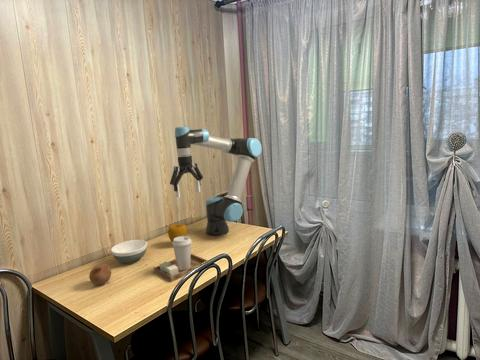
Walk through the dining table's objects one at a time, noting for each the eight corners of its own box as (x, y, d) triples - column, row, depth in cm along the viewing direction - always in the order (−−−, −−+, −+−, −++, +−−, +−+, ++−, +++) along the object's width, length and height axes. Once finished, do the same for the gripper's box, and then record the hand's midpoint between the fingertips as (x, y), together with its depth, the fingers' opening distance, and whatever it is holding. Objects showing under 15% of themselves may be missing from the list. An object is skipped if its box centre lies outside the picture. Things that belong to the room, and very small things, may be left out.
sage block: (166, 269, 155) (165, 261, 154) (172, 270, 153) (171, 263, 152) (160, 272, 152) (159, 264, 151) (166, 274, 149) (165, 266, 149)
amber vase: (166, 248, 183) (164, 227, 181) (173, 241, 194) (171, 221, 192) (184, 248, 181) (182, 227, 179) (190, 241, 192) (188, 221, 190)
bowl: (107, 261, 170) (104, 247, 168) (138, 250, 183) (137, 237, 181) (122, 271, 157) (120, 256, 155) (155, 258, 170) (153, 244, 168)
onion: (101, 293, 143) (95, 279, 137) (88, 284, 147) (81, 271, 141) (118, 277, 150) (112, 264, 144) (104, 269, 154) (98, 256, 148)
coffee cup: (190, 272, 149) (188, 242, 147) (171, 271, 151) (168, 241, 149) (195, 264, 158) (194, 235, 156) (177, 263, 160) (175, 235, 158)
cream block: (175, 272, 151) (174, 264, 150) (178, 275, 147) (178, 267, 147) (167, 275, 148) (166, 267, 148) (171, 278, 145) (170, 270, 144)
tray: (190, 257, 168) (189, 253, 168) (209, 265, 157) (208, 260, 156) (153, 272, 153) (153, 268, 153) (171, 283, 142) (171, 278, 141)
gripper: (198, 153, 179) (202, 189, 182) (160, 158, 161) (165, 198, 165) (207, 153, 173) (210, 190, 177) (168, 159, 156) (172, 200, 160)
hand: (188, 194), depth 171 cm, fingers open, 13 cm apart
